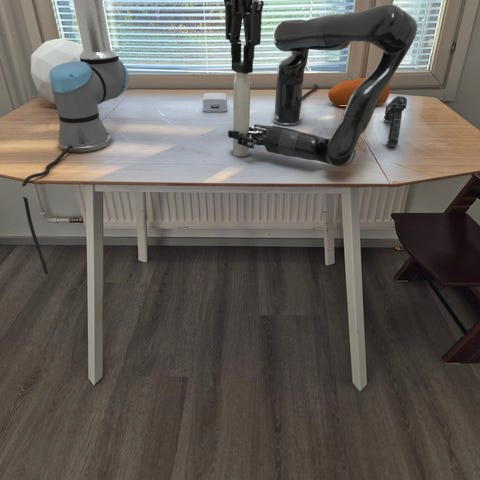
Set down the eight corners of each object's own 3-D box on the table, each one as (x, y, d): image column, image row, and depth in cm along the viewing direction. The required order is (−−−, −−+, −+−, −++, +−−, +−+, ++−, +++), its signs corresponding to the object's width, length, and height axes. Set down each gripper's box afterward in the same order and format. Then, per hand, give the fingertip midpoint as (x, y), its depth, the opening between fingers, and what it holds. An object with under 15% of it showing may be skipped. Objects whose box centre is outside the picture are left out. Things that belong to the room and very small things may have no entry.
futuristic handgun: (389, 146, 153) (397, 104, 149) (399, 145, 125) (409, 94, 122) (379, 144, 154) (386, 103, 150) (386, 144, 126) (395, 93, 122)
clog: (332, 114, 163) (392, 106, 164) (333, 87, 157) (396, 78, 158) (323, 105, 173) (381, 98, 174) (324, 79, 167) (383, 71, 167)
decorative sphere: (41, 71, 170) (18, 23, 146) (103, 69, 174) (90, 22, 151) (41, 120, 163) (17, 77, 140) (106, 117, 167) (93, 75, 144)
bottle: (251, 153, 125) (254, 65, 110) (240, 157, 122) (241, 68, 108) (241, 149, 127) (242, 63, 113) (229, 153, 125) (229, 65, 110)
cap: (235, 73, 109) (235, 65, 108) (232, 69, 113) (232, 61, 111) (252, 72, 110) (252, 64, 108) (248, 68, 113) (248, 61, 112)
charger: (226, 100, 170) (227, 111, 158) (204, 100, 170) (203, 111, 158) (226, 88, 168) (226, 99, 155) (204, 88, 167) (202, 99, 155)
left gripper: (210, -33, 102) (212, 66, 115) (254, -31, 90) (251, 79, 104) (234, -33, 105) (233, 63, 119) (279, -31, 94) (273, 75, 107)
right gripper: (296, 121, 118) (244, 112, 125) (275, 136, 108) (220, 125, 115) (293, 146, 123) (244, 135, 129) (273, 163, 112) (220, 150, 119)
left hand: (242, 70), depth 111 cm, fingers closed on cap, 4 cm apart
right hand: (233, 130), depth 122 cm, fingers closed on bottle, 4 cm apart
